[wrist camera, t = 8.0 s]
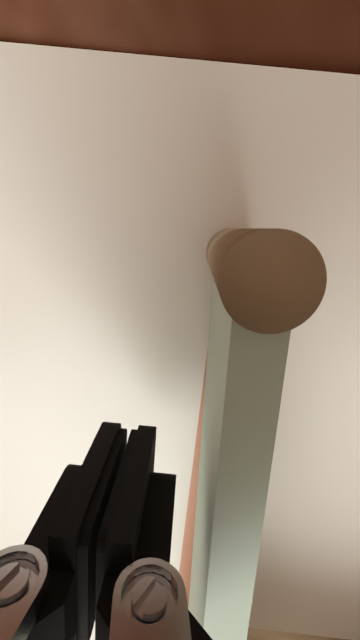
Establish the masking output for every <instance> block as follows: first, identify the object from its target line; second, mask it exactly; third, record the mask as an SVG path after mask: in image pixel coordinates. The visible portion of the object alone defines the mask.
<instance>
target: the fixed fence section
mask: <svg viewBox="0 0 360 640" xmlns="http://www.w3.org/2000/svg"><path fill="white" fill-rule="evenodd" d="M247 640H348V639H339V638H331V637H323V636H315V635H306V634H298V633H290V632H281V631H273V630H265V629H256V628H248V634H247Z"/></svg>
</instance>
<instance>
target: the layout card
mask: <svg viewBox="0 0 360 640" xmlns="http://www.w3.org/2000/svg"><path fill="white" fill-rule="evenodd" d="M228 228H280V229H287V230H291V231H294V232H297V233H299V234H301V235H303V236H305V237H306V238H307V239H309V240H310V241H311V242H312V243H313V244H314V245H315V246H316V247H317V249H318V250H319V252H320V253H321V255H322V257H323V260H324V263H325V266H326V271H327V284H326V290H325V294H324V296H323V299H322V301H321V303H320V305H319V307H318V308H317V310H316V311H315V312H314V313H313V315H312V316H311V317H310V318H309V319H308V320H306V321H305V322H304V323H303V324H301V325H300V326H298V327H296V328H294V329H292V330H291V334H290V341H289V348H288V355H287V362H286V369H285V376H284V383H283V390H282V397H281V404H280V411H279V418H278V425H277V432H276V439H275V445H274V452H273V459H272V466H271V473H270V480H269V487H268V494H267V501H266V508H265V515H264V522H263V529H262V536H261V543H260V550H259V557H258V564H257V571H256V578H255V585H254V592H253V599H252V606H251V613H250V620H249V627H248V628H256V629H265V630H273V631H281V632H290V633H298V634H306V635H315V636H323V637H331V638H339V639H348V640H360V75H357V74H346V73H335V72H324V71H314V70H303V69H292V68H281V67H270V66H260V65H249V64H238V63H227V62H216V61H206V60H195V59H184V58H173V57H162V56H152V55H141V54H130V53H119V52H108V51H98V50H87V49H76V48H65V47H54V46H44V45H33V44H22V43H11V42H0V550H2V549H5V548H7V547H9V546H14V545H20V544H23V545H24V543H25V541H26V539H27V538H28V536H29V534H30V532H31V530H32V528H33V526H34V525H35V523H36V521H37V519H38V517H39V515H40V514H41V512H42V510H43V508H44V506H45V504H46V503H47V501H48V499H49V497H50V495H51V493H52V491H53V490H54V488H55V486H56V484H57V482H58V480H59V479H60V477H61V475H62V473H63V471H64V469H65V468H66V466H67V465H69V464H74V465H82V463H83V461H84V459H85V457H86V455H87V453H88V451H89V449H90V447H91V445H92V443H93V440H94V438H95V436H96V434H97V432H98V430H99V428H100V426H101V424H102V422H112V423H121V428H124V429H127V441H128V438H129V435H130V432H131V430H132V429H135V430H137V429H138V426H139V425H144V426H155V427H156V445H155V460H154V472H156V473H167V474H176V487H175V500H174V514H173V527H172V540H171V553H170V564H171V565H172V566H174V567H175V568H176V569H177V570H178V572H179V574H180V575H181V577H182V578H183V581H184V585H185V589H186V595H187V604H188V605H189V592H190V579H191V565H192V552H193V538H194V525H195V512H196V498H197V485H198V472H199V458H200V445H201V431H202V418H203V405H204V391H205V378H206V364H207V351H208V338H209V324H210V311H211V297H212V284H213V276H212V273H211V270H210V268H209V265H208V262H207V259H206V248H207V245H208V242H209V241H210V239H211V238H212V237H213V236H214V235H215V234H216V233H217V232H219V231H221V230H223V229H228ZM90 640H95V622H94V626H93V630H92V634H91V637H90Z"/></svg>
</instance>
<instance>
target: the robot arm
mask: <svg viewBox="0 0 360 640" xmlns="http://www.w3.org/2000/svg"><path fill="white" fill-rule="evenodd" d="M155 445H156V427H155V426H144V425H139V426H138V429H137V430H135V429H132V430H131V432H130V435H129V438H128V441H127V429H124V428H121V423H112V422H102V424H101V426H100V428H99V430H98V432H97V434H96V436H95V438H94V440H93V443H92V445H91V447H90V449H89V451H88V453H87V455H86V457H85V459H84V461H83V463H82V465H74V464H69V465H67V466H66V468H65V469H64V471H63V473H62V475H61V477H60V479H59V480H58V482H57V484H56V486H55V488H54V490H53V491H52V493H51V495H50V497H49V499H48V501H47V503H46V504H45V506H44V508H43V510H42V512H41V514H40V515H39V517H38V519H37V521H36V523H35V525H34V526H33V528H32V530H31V532H30V534H29V536H28V538H27V539H26V541H25V543H24V545H23V544H20V545H14V546H9V547H7V548H5V549H2V550H0V640H90V637H91V634H92V630H93V626H94V622H95V640H213V639H212V638H211V637H210V636H209V635H208V633H207V632H206V631H205V630H204V628H203V627H202V626H201V625H200V623H199V622H198V621H197V620H196V618H195V617H194V616H193V615H192V614H191V612H190V611H189V610H188V604H187V595H186V589H185V585H184V581H183V578H182V577H181V575H180V574H179V572H178V570H177V569H176V568H175V567H174V566H172V565H171V564H170V553H171V540H172V527H173V514H174V500H175V487H176V474H167V473H156V472H154V460H155Z"/></svg>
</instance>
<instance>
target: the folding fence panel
mask: <svg viewBox="0 0 360 640" xmlns="http://www.w3.org/2000/svg"><path fill="white" fill-rule="evenodd" d="M206 259H207V262H208V265H209V268H210V270H211V273H212V276H213V284H212V297H211V311H210V324H209V338H208V351H207V364H206V378H205V391H204V405H203V418H202V431H201V445H200V458H199V472H198V485H197V498H196V512H195V525H194V538H193V552H192V565H191V579H190V592H189V605H188V610H189V611H190V612H191V614H192V615H193V616H194V617H195V618H196V620H197V621H198V622H199V623H200V625H201V626H202V627H203V628H204V630H205V631H206V632H207V633H208V635H209V636H210V637H211V638H212V639H213V640H247V634H248V627H249V620H250V613H251V606H252V599H253V592H254V585H255V578H256V571H257V564H258V557H259V550H260V543H261V536H262V529H263V522H264V515H265V508H266V501H267V494H268V487H269V480H270V473H271V466H272V459H273V452H274V445H275V439H276V432H277V425H278V418H279V411H280V404H281V397H282V390H283V383H284V376H285V369H286V362H287V355H288V348H289V341H290V334H291V330H292V329H294V328H296V327H298V326H300V325H301V324H303V323H304V322H305V321H306V320H308V319H309V318H310V317H311V316H312V315H313V313H314V312H315V311H316V310H317V308H318V307H319V305H320V303H321V301H322V299H323V296H324V294H325V290H326V284H327V271H326V266H325V263H324V260H323V257H322V255H321V253H320V252H319V250H318V249H317V247H316V246H315V245H314V244H313V243H312V242H311V241H310V240H309V239H307V238H306V237H305V236H303V235H301V234H299V233H297V232H294V231H291V230H287V229H280V228H228V229H223V230H221V231H219V232H217V233H216V234H215V235H214V236H213V237H212V238H211V239H210V241H209V242H208V245H207V248H206Z"/></svg>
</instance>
